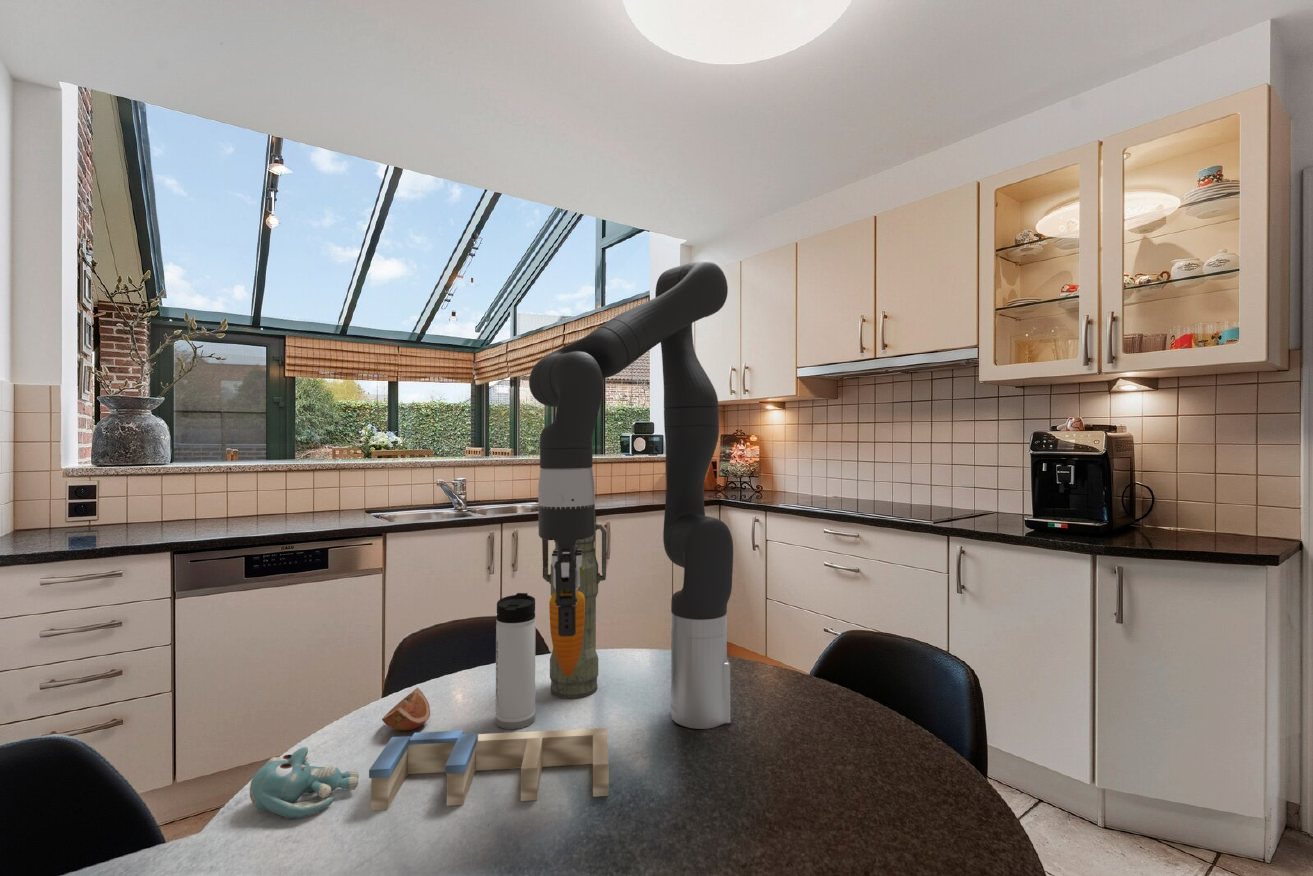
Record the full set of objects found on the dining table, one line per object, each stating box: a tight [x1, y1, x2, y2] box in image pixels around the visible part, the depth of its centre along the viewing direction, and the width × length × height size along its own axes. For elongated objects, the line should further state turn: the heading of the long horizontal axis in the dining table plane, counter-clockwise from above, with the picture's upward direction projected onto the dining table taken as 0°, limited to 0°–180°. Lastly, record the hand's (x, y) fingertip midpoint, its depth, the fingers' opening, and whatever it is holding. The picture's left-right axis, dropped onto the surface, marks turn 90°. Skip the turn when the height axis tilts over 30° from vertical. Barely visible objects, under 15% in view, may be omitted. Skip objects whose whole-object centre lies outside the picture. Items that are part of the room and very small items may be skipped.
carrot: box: [548, 567, 585, 677], centre depth 80 cm, size 5×5×15 cm
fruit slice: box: [381, 687, 431, 731], centre depth 94 cm, size 8×7×5 cm
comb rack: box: [368, 727, 610, 811], centre depth 79 cm, size 29×10×5 cm, turn 96°
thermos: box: [541, 522, 608, 700], centre depth 110 cm, size 9×12×35 cm
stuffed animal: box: [249, 746, 360, 820], centre depth 75 cm, size 11×7×12 cm
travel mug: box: [495, 592, 536, 730], centre depth 97 cm, size 6×7×20 cm
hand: (567, 628), depth 80 cm, fingers closed on carrot, 4 cm apart
